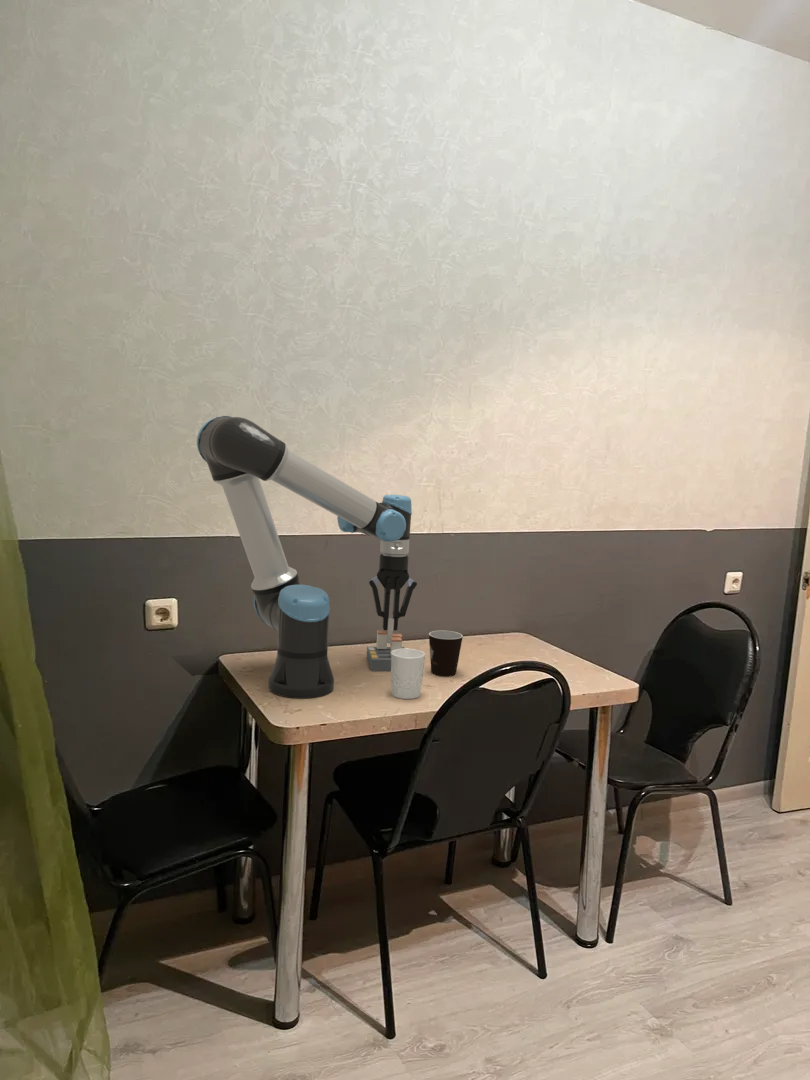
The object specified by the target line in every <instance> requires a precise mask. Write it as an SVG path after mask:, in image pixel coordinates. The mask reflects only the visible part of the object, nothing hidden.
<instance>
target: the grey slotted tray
mask: <svg viewBox="0 0 810 1080" xmlns="http://www.w3.org/2000/svg"><path fill="white" fill-rule="evenodd" d="M390 648H391V646H387V649H377V646H366V659H367V662H368V665H369V668H370V670H371V672H391V655H390ZM404 648H405V646H402V649H404Z"/></svg>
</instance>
